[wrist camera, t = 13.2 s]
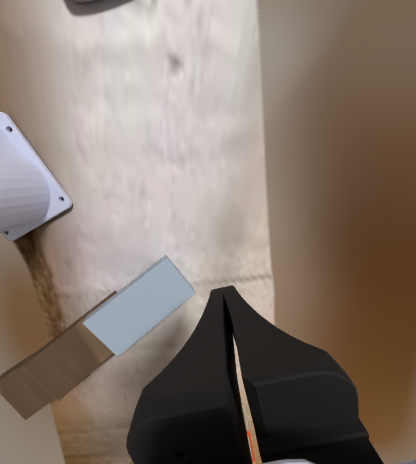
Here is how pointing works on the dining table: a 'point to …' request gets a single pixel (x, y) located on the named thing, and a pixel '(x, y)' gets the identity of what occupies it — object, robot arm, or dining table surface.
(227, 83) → the dining table surface
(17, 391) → the domino
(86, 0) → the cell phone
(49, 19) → the dining table surface
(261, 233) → the dining table surface
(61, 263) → the dining table surface
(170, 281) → the domino
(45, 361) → the domino
